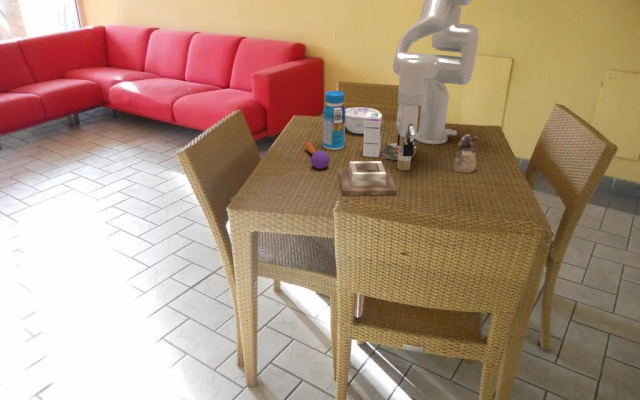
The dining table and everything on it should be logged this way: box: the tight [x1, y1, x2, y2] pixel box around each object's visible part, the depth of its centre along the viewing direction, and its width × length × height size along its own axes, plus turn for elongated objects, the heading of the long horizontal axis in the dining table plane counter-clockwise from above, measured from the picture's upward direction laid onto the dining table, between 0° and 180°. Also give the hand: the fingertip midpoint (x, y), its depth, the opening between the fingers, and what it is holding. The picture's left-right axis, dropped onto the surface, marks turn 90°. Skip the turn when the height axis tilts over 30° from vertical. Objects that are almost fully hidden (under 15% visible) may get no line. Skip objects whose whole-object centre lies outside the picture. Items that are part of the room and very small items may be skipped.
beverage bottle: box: [322, 90, 346, 151], centre depth 174 cm, size 8×8×20 cm
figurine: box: [452, 133, 478, 174], centre depth 158 cm, size 7×7×12 cm
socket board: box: [338, 160, 398, 197], centre depth 149 cm, size 16×16×6 cm
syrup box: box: [362, 112, 383, 158], centre depth 169 cm, size 6×6×14 cm
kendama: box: [303, 141, 330, 170], centre depth 166 cm, size 6×6×20 cm
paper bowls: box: [345, 106, 381, 135], centre depth 194 cm, size 15×15×8 cm
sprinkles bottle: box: [396, 128, 412, 171], centre depth 158 cm, size 5×5×14 cm
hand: (404, 150), depth 158 cm, fingers open, 9 cm apart
